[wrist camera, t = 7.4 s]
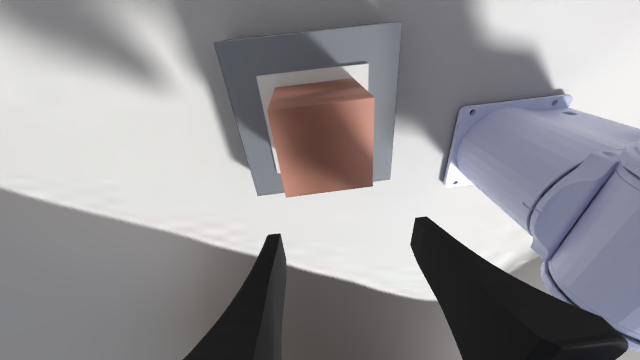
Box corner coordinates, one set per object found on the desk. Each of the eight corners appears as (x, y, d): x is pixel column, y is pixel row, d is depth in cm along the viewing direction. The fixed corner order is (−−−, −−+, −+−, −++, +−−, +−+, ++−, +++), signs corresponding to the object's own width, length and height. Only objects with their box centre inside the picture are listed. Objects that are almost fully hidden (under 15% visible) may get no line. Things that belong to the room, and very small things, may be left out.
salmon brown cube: (353, 77, 15) (374, 97, 11) (354, 149, 18) (372, 186, 14) (274, 87, 15) (267, 110, 11) (288, 157, 18) (285, 197, 14)
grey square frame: (385, 22, 17) (403, 21, 14) (379, 162, 23) (390, 180, 20) (226, 40, 17) (212, 43, 14) (262, 176, 22) (257, 197, 20)
